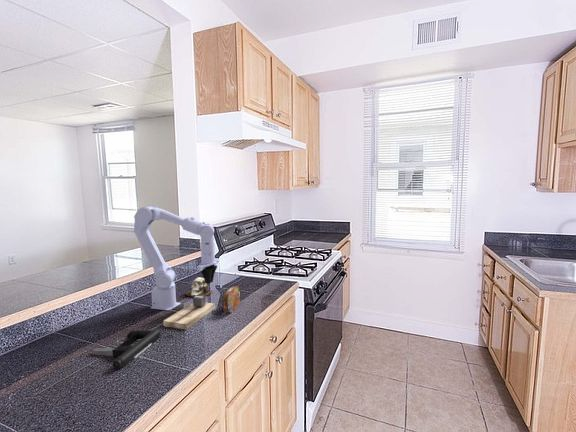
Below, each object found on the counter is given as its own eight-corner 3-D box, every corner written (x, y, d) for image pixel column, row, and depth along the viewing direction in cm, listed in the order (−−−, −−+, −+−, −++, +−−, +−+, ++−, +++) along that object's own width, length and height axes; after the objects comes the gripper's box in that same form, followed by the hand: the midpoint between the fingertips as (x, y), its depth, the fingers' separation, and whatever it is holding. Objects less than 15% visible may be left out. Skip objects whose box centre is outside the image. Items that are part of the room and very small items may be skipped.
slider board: (163, 326, 115) (163, 320, 115) (194, 305, 134) (194, 301, 134) (186, 329, 112) (186, 324, 112) (215, 308, 131) (215, 303, 131)
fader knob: (193, 305, 127) (192, 297, 127) (197, 303, 130) (196, 295, 130) (201, 306, 126) (201, 298, 126) (205, 304, 129) (205, 295, 129)
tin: (228, 316, 123) (228, 295, 122) (221, 315, 124) (220, 295, 123) (241, 301, 138) (241, 283, 137) (235, 301, 138) (234, 283, 137)
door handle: (75, 358, 90) (123, 360, 87) (123, 327, 110) (164, 328, 107) (77, 369, 91) (125, 371, 87) (124, 336, 110) (165, 337, 107)
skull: (204, 297, 141) (190, 280, 142) (191, 309, 144) (177, 293, 145) (218, 287, 152) (205, 272, 153) (205, 299, 155) (192, 284, 156)
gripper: (206, 256, 126) (208, 288, 127) (224, 249, 139) (225, 278, 141) (191, 255, 128) (193, 287, 129) (210, 248, 141) (211, 277, 143)
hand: (209, 282), depth 135 cm, fingers closed
